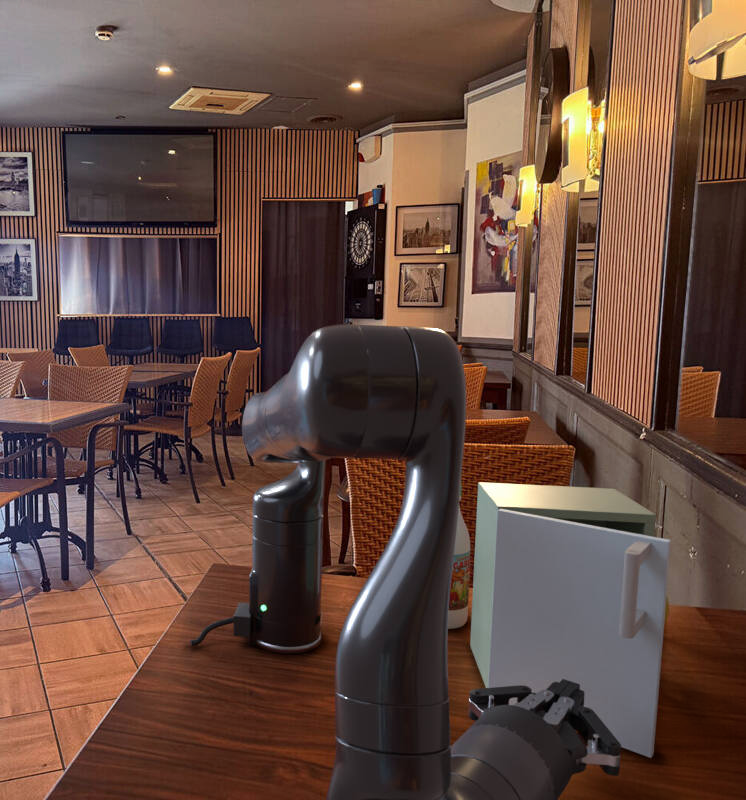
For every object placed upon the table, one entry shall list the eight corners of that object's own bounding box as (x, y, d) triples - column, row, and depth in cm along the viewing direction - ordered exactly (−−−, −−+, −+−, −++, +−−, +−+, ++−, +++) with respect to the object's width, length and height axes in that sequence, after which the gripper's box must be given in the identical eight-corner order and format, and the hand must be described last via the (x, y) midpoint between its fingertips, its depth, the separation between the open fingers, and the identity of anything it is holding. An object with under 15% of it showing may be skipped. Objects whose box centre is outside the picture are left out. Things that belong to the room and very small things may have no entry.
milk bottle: (407, 624, 97) (413, 485, 95) (413, 604, 104) (418, 474, 102) (466, 634, 94) (473, 491, 92) (468, 612, 101) (474, 479, 99)
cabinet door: (638, 783, 64) (657, 555, 61) (468, 715, 74) (478, 519, 72) (653, 753, 68) (671, 539, 66) (490, 694, 79) (500, 508, 77)
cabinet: (641, 709, 76) (656, 514, 74) (487, 693, 79) (497, 506, 77) (602, 658, 88) (614, 488, 86) (470, 646, 91) (478, 482, 89)
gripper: (599, 768, 49) (654, 677, 61) (423, 697, 58) (502, 631, 70) (592, 866, 49) (648, 757, 62) (420, 782, 58) (499, 701, 71)
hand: (570, 690), depth 66 cm, fingers closed
